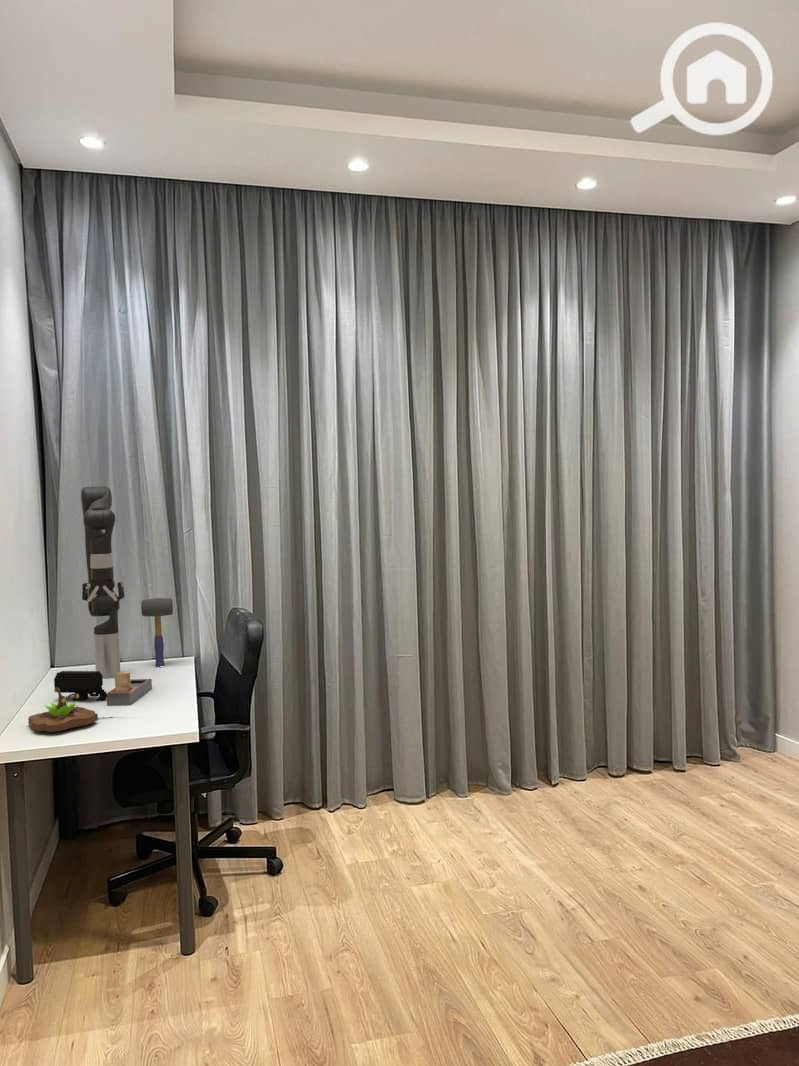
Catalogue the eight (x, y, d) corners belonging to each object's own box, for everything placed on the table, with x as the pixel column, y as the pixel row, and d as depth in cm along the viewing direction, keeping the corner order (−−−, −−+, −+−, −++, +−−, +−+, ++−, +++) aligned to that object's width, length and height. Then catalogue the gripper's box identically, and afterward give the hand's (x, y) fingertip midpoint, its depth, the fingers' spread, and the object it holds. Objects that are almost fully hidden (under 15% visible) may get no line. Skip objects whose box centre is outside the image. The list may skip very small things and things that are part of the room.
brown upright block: (119, 697, 300) (118, 672, 299) (131, 697, 300) (129, 672, 299) (115, 700, 296) (114, 674, 295) (127, 700, 296) (126, 674, 295)
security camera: (100, 702, 298) (99, 674, 297) (53, 702, 301) (51, 674, 301) (111, 698, 304) (110, 670, 304) (64, 697, 308) (63, 670, 308)
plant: (79, 711, 287) (77, 678, 287) (105, 721, 273) (104, 686, 273) (18, 724, 273) (16, 689, 273) (42, 734, 259) (40, 698, 259)
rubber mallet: (176, 667, 358) (173, 596, 357) (175, 671, 350) (171, 598, 349) (145, 670, 355) (142, 598, 354) (143, 673, 348) (140, 600, 347)
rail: (130, 690, 317) (130, 678, 317) (152, 689, 317) (151, 677, 316) (107, 705, 293) (106, 693, 293) (130, 705, 293) (129, 692, 292)
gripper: (125, 564, 306) (127, 609, 308) (85, 565, 307) (88, 610, 308) (118, 566, 299) (120, 612, 300) (77, 568, 299) (80, 613, 300)
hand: (104, 611), depth 304 cm, fingers open, 8 cm apart
